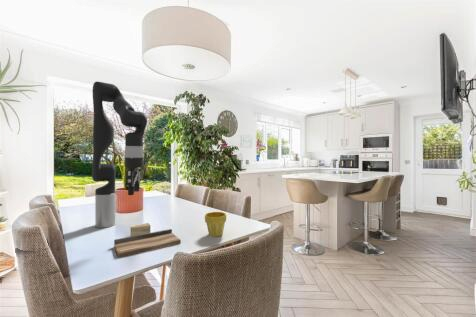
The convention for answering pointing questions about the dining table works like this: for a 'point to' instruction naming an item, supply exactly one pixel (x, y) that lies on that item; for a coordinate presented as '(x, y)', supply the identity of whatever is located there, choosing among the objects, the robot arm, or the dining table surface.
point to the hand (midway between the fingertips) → (134, 193)
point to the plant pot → (215, 223)
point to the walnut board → (145, 242)
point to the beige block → (140, 229)
